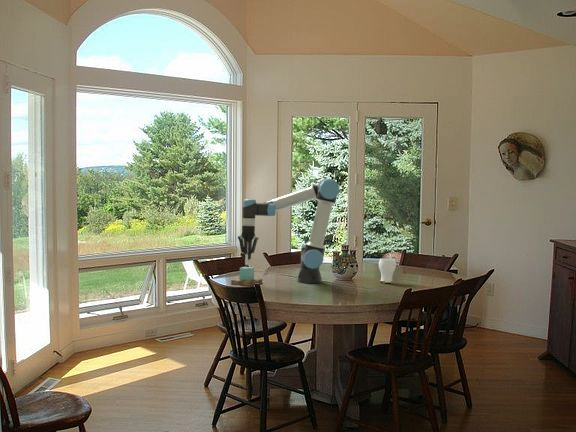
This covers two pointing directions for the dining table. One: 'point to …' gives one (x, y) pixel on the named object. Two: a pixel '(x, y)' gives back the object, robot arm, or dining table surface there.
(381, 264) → the cup
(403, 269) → the dining table surface
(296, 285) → the dining table surface
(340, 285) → the dining table surface
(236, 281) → the stand
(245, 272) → the mint green cube
